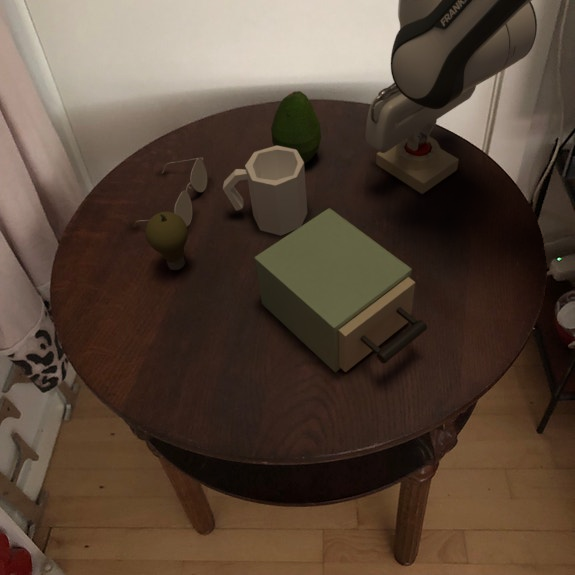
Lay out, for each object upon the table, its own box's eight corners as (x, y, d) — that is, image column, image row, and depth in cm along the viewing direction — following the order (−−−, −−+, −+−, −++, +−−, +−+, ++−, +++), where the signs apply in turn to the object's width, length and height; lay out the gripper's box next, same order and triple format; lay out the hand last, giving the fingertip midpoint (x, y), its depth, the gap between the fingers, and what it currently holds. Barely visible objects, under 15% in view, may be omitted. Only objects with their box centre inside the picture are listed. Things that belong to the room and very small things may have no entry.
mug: (307, 194, 97) (303, 143, 90) (307, 234, 92) (304, 184, 84) (231, 198, 98) (221, 148, 91) (227, 238, 93) (216, 188, 85)
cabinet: (406, 316, 81) (412, 268, 74) (335, 373, 77) (334, 328, 69) (330, 256, 89) (329, 207, 82) (262, 304, 84) (253, 257, 77)
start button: (433, 155, 97) (435, 145, 96) (417, 165, 96) (418, 156, 95) (416, 144, 99) (417, 135, 98) (400, 155, 98) (401, 146, 97)
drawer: (435, 340, 78) (443, 302, 72) (369, 395, 74) (372, 359, 68) (338, 263, 87) (338, 223, 81) (275, 307, 83) (269, 269, 77)
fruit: (323, 143, 105) (321, 80, 96) (320, 174, 100) (317, 111, 91) (277, 143, 106) (270, 80, 97) (271, 174, 101) (264, 111, 92)
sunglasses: (184, 236, 94) (172, 212, 90) (135, 236, 96) (122, 213, 93) (211, 175, 102) (201, 151, 98) (166, 177, 105) (154, 153, 101)
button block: (457, 170, 98) (460, 149, 95) (422, 194, 96) (424, 174, 92) (410, 141, 104) (412, 122, 101) (375, 164, 101) (376, 144, 98)
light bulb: (205, 264, 90) (191, 215, 82) (175, 288, 87) (159, 239, 80) (179, 246, 92) (164, 196, 85) (150, 268, 90) (132, 219, 82)
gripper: (390, 106, 80) (384, 187, 91) (492, 44, 88) (476, 125, 98) (355, 87, 83) (354, 167, 94) (457, 28, 91) (445, 108, 102)
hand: (417, 145), depth 96 cm, fingers closed, pressing on start button
